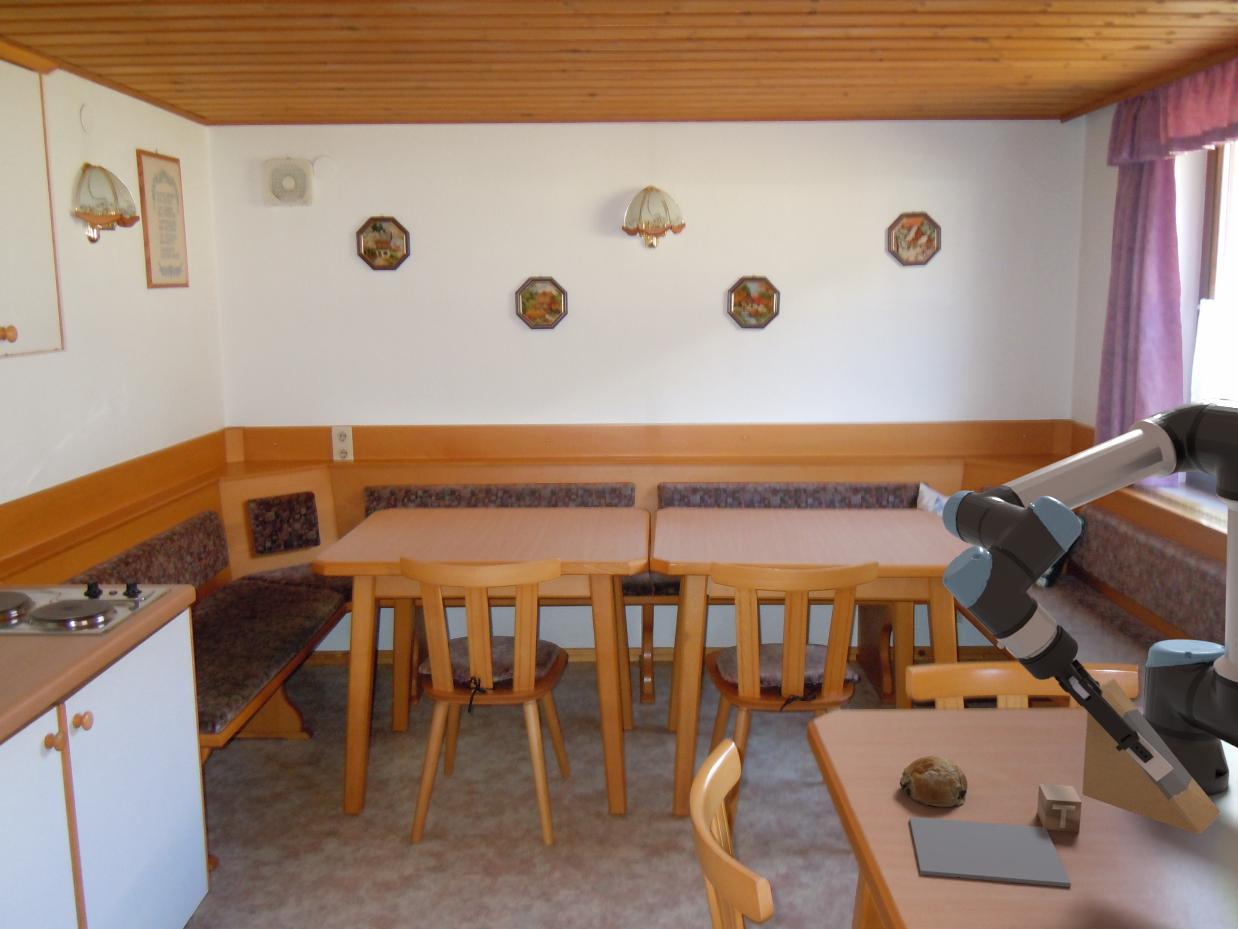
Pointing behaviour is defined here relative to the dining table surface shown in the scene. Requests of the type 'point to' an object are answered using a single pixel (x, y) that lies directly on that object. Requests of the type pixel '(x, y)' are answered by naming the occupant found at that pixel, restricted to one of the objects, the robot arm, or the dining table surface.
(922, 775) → the bread roll
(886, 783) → the dining table surface
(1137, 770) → the sandwich container
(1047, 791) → the wooden letter cube
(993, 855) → the grey rubber mat
